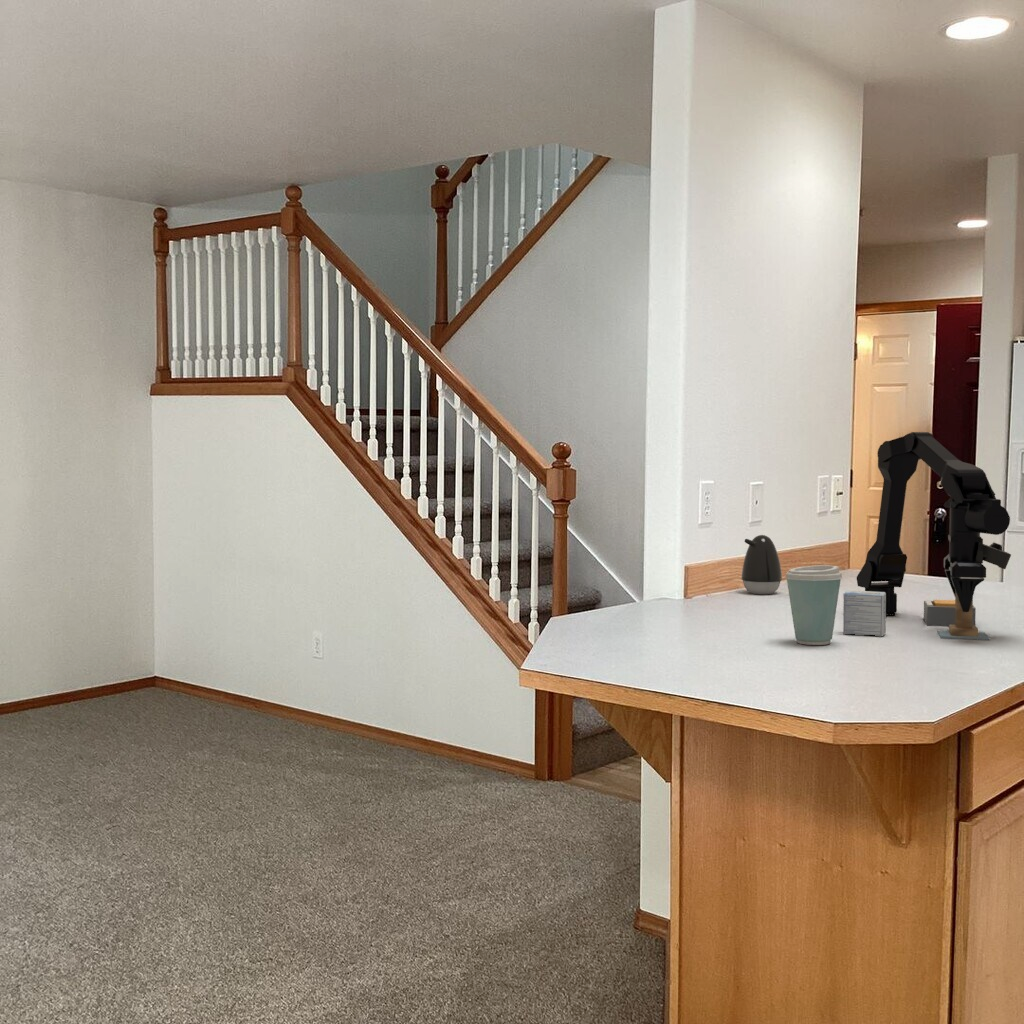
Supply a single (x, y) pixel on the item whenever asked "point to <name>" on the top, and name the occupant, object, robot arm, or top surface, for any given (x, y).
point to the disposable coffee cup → (814, 602)
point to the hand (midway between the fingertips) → (963, 608)
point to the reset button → (944, 603)
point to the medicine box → (864, 613)
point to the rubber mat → (947, 635)
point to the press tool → (963, 621)
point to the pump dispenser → (761, 566)
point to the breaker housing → (941, 614)
